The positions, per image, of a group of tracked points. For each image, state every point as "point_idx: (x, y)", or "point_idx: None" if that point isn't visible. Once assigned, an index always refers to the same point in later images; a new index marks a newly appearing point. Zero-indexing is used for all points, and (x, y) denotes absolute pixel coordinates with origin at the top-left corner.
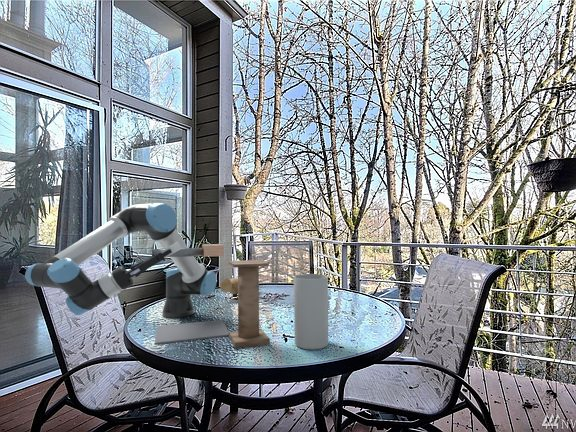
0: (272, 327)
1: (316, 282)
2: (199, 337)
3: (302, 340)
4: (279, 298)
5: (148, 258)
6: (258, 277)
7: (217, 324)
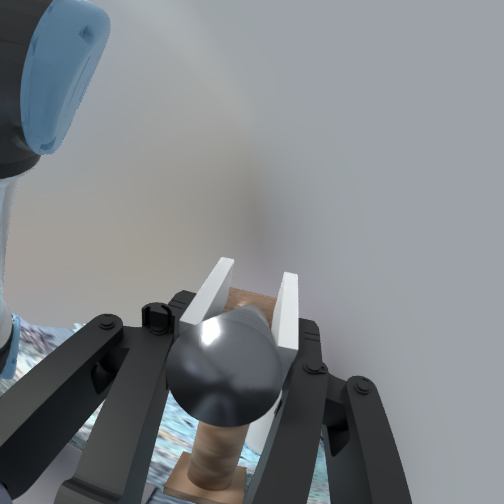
0: (163, 435)
1: None
2: None
3: None
4: (50, 344)
5: (32, 388)
6: None
7: (71, 455)
